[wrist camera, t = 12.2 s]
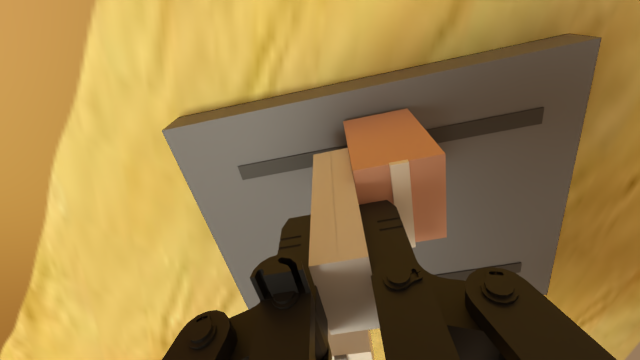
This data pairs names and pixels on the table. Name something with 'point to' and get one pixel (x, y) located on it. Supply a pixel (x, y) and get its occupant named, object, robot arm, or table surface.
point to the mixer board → (442, 125)
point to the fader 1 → (351, 345)
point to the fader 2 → (400, 170)
